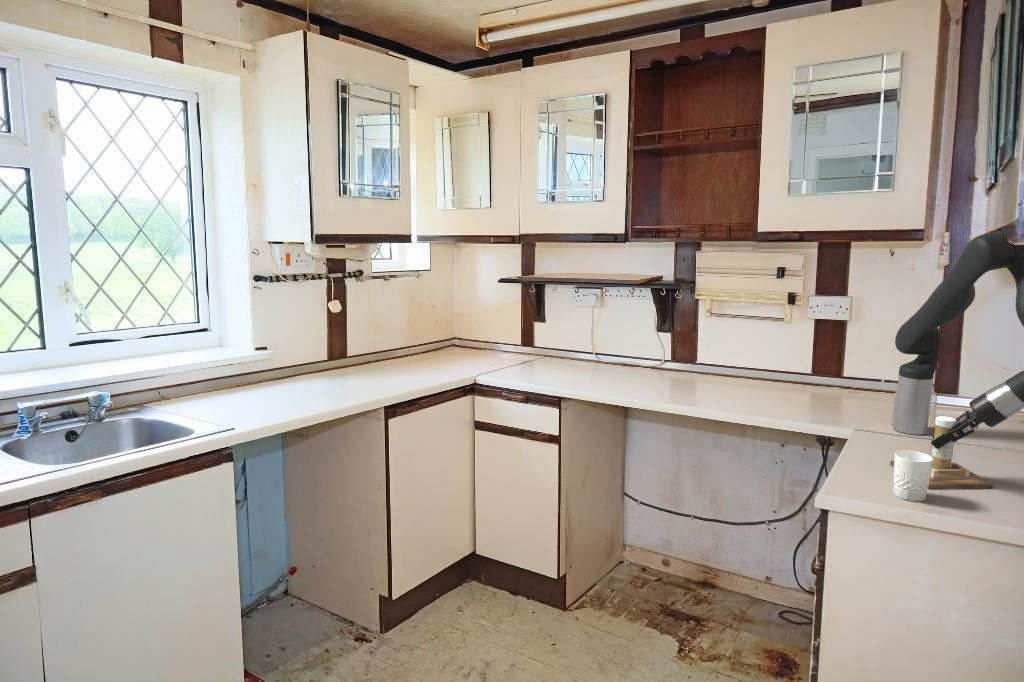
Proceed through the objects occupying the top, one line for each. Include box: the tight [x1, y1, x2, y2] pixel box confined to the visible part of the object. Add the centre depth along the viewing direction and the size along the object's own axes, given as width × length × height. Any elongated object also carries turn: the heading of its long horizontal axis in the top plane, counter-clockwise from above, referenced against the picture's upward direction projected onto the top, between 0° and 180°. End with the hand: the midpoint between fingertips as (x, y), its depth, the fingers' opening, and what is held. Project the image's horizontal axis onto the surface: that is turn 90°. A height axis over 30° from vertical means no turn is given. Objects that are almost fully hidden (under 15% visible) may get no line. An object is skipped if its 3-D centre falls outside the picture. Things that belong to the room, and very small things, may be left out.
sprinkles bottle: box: [931, 415, 957, 469], centre depth 173 cm, size 5×5×14 cm
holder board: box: [889, 460, 993, 490], centre depth 175 cm, size 16×16×3 cm
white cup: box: [892, 449, 933, 502], centre depth 162 cm, size 8×8×10 cm
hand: (934, 442), depth 175 cm, fingers closed on sprinkles bottle, 4 cm apart
